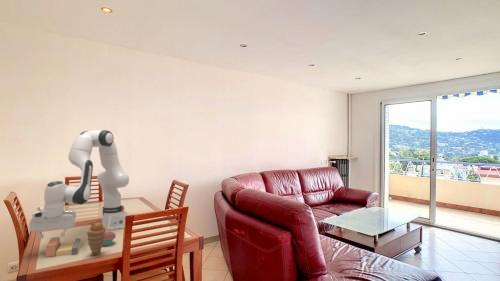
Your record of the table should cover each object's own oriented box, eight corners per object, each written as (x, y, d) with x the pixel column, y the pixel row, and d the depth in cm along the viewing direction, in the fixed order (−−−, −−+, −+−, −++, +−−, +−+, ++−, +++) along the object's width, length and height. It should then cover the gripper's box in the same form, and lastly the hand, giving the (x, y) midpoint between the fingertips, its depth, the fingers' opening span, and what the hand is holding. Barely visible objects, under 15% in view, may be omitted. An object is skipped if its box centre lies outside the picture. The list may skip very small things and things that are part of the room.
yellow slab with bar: (81, 244, 156) (81, 237, 156) (77, 254, 143) (77, 247, 143) (60, 246, 152) (60, 240, 152) (54, 257, 139) (55, 250, 139)
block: (59, 247, 151) (60, 236, 151) (54, 255, 140) (55, 244, 140) (51, 248, 149) (51, 237, 149) (45, 257, 138) (45, 245, 138)
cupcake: (97, 243, 158) (98, 223, 158) (112, 240, 164) (113, 221, 164) (101, 248, 152) (102, 227, 152) (117, 244, 158) (118, 224, 158)
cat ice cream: (102, 249, 150) (103, 218, 150) (107, 254, 145) (108, 221, 145) (84, 254, 143) (85, 221, 143) (89, 259, 138) (90, 224, 138)
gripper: (77, 209, 152) (75, 233, 151) (32, 211, 143) (30, 237, 142) (75, 211, 146) (73, 237, 146) (28, 214, 137) (26, 241, 137)
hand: (52, 237), depth 144 cm, fingers open, 8 cm apart
